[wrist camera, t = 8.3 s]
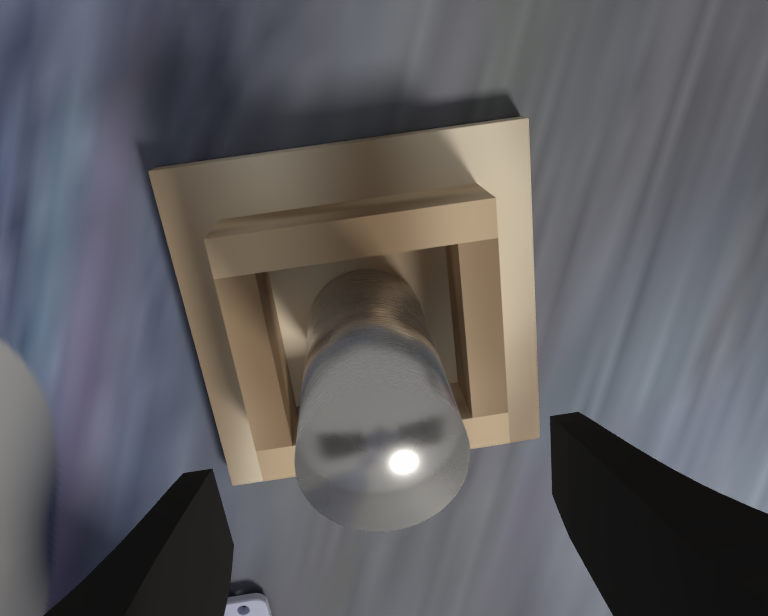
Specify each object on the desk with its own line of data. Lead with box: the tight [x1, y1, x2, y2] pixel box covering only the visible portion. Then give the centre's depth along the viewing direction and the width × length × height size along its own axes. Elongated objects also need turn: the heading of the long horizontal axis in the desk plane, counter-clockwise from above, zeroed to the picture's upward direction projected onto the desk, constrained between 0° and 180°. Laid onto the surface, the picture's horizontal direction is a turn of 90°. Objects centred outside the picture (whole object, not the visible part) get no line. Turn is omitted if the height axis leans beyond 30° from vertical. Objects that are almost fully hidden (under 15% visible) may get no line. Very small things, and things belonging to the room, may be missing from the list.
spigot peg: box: [294, 269, 470, 532], centre depth 17 cm, size 4×4×8 cm
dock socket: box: [148, 116, 540, 486], centre depth 20 cm, size 12×12×3 cm
